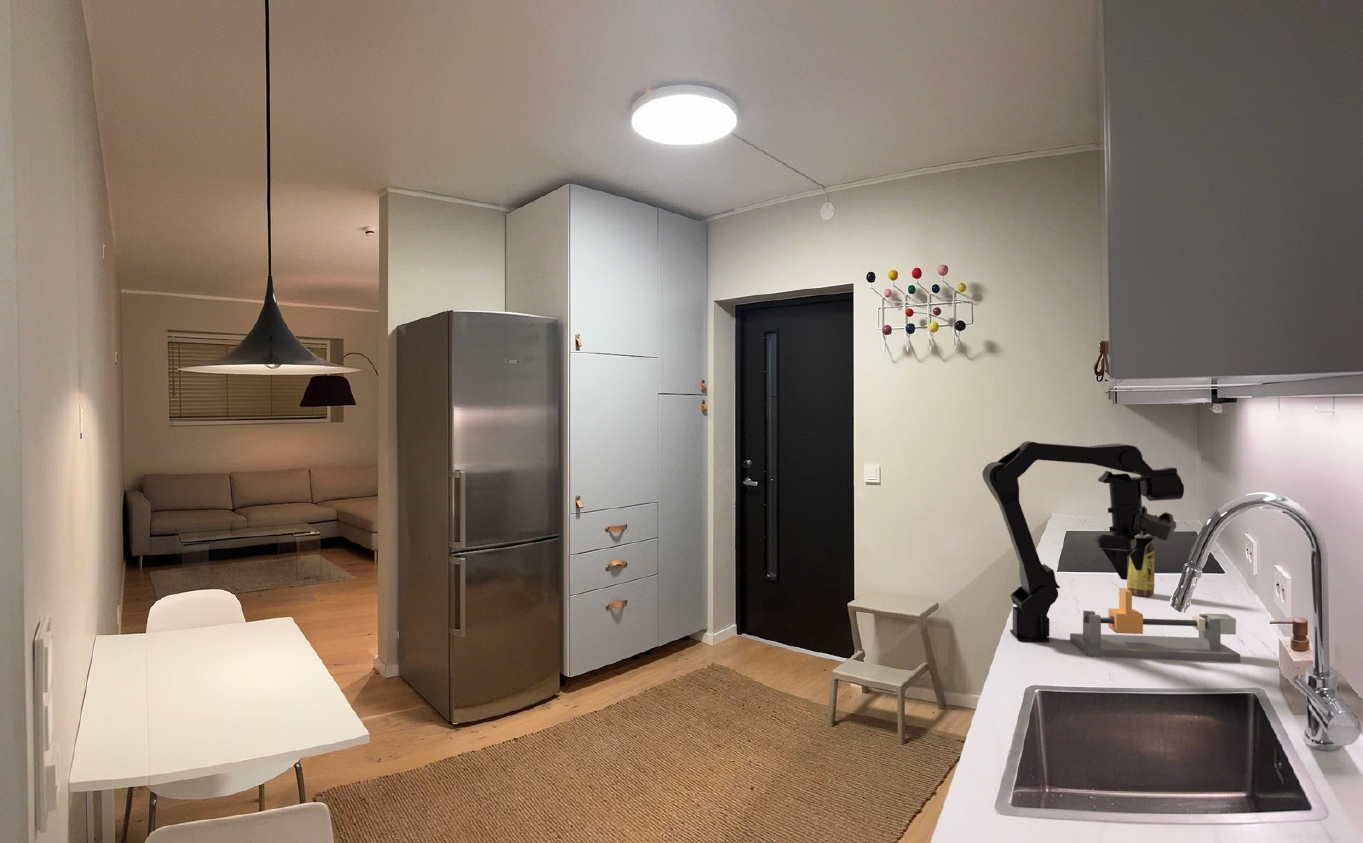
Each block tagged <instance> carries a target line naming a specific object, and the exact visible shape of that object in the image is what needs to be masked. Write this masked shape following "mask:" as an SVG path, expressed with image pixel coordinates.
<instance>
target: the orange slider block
mask: <svg viewBox="0 0 1363 843" xmlns="http://www.w3.org/2000/svg"><path fill="white" fill-rule="evenodd" d="M1118 594H1119V595H1118V598H1119V599H1118V608H1108V610H1107V611H1108V612H1107V614H1108V616H1107V618H1114V624H1108V623H1107V624H1108V629H1110V630H1112V632H1114V633H1115V634H1124V635H1143V634H1144V625H1143V619H1144V615H1143V613H1141V612H1139V611H1138V610H1136V609H1133V595H1132V592H1131V591H1129V590H1128V589H1127V587H1126V588H1125V587H1118Z"/></svg>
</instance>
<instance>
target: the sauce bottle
mask: <svg viewBox="0 0 1363 843" xmlns="http://www.w3.org/2000/svg"><path fill="white" fill-rule="evenodd" d="M1152 543H1153V542H1151V543H1150V544H1148V546H1147V550H1146V554H1145V558H1144V563H1143V567H1142V570H1136V569H1135V567H1134V565H1133V562H1132V560H1131V558H1129V569H1128V578H1127V579H1126V589H1128V590H1129V591H1131V592H1132V596H1138V597H1151V596H1152V597H1153V595H1154V594H1155V593H1154V592H1155V591H1154V590H1155V566H1156V565H1155V557H1156V556H1155V549H1154V548H1155V547H1154V546H1153V544H1152Z"/></svg>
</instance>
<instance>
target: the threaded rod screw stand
mask: <svg viewBox="0 0 1363 843" xmlns="http://www.w3.org/2000/svg"><path fill="white" fill-rule="evenodd" d="M1082 612H1083V614H1082V615H1083V616H1082V633H1073V632H1071V633H1069V634H1070V635H1069V640H1070V642H1071V643H1073V644H1074V645H1075V646H1076V647H1078V649H1079V650H1081V652H1082V653H1084V654H1085V655H1086V656H1087V657H1096V656H1104V657H1103V658H1123V659H1124V658H1125V659H1126V658H1127V659H1154V660H1155V659H1156V660H1157V659H1158V660H1177V661H1179V660H1180V661H1181V660H1182V661H1201V662H1202V661H1206V662H1207V661H1208V662H1229V663H1230V662H1231V663H1232V662H1233V663H1235V662H1236V663H1241V654H1240V653H1239V652H1237V651H1236V650H1234V649H1232V648H1230V647H1228V646H1226V645H1225V644H1223V643H1221V642H1222V641H1221V635H1233V636H1235V635H1236V634H1237V630H1236V629H1237V618H1235V617H1233V616H1231V615H1229V614H1228V613H1227V614H1226V613H1199V614H1198V615H1192V619H1171V618H1170V619H1167V618H1164V619H1163V618H1143V626H1145V625H1146V626H1148V625H1149V626H1173V627H1174V626H1176V627H1177V626H1179V627H1181V626H1182V627H1192V628H1193V629H1195V630H1197V631H1198V637H1191V636H1165V635H1163V636H1160V635H1137V634H1105V633H1104V634H1102V624H1114V618H1108V617H1104V616H1103V617H1102V616H1101V615H1100V614H1096V612H1095V611H1094V610H1083V611H1082Z"/></svg>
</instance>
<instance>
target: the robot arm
mask: <svg viewBox="0 0 1363 843" xmlns="http://www.w3.org/2000/svg"><path fill="white" fill-rule="evenodd" d="M1036 461H1048V462H1050V461H1051V462H1060V463H1061V462H1062V463H1076V464H1086V465H1095V466H1100V467H1103V468H1106V469H1111V470H1115V471H1119V472H1120V471H1121V472H1123V473H1113V472H1111V471H1108V470H1105V471H1104V473H1103V474H1102V475H1101V476H1100V477H1099V478H1097V482H1099V483H1104V484H1109V495H1110V506H1109V507H1107V514H1111V526H1109V531H1107V532H1105V533H1102V534H1101V535H1099V537H1097V548H1100V550H1101V551H1102V552H1103V553H1104V554H1105V555H1106V557H1107V558H1108V560H1109V561H1110V563H1111V565H1112V566H1113V568H1114V569H1115V572H1116V573H1117V574H1118V576H1119V578H1120V580H1125V581H1127V578H1128V569H1129V558H1131V560H1132V562H1133V565H1134V567H1135V569H1136V570H1142V567H1143V563H1144V558H1145V554H1146V550H1147V546H1148V544H1150V543H1153V541H1155V540H1156V539H1158V540H1161V541H1168V540H1169V539H1171V538H1172V537H1173V535H1174V531H1175V530H1176V529H1177V522H1176V521H1175V519H1174V516H1173V514H1171V513H1169V512H1167V511H1166V512H1163V513H1162V514H1160V515H1157V514H1150V513H1148V507H1146V505H1143V504H1142V503H1143V502H1142V500H1143V499H1142V497H1144V498H1146V499H1147V500H1148V501H1149V502H1154V501H1155V502H1157V501H1172V500H1174V501H1175V500H1181V499H1182V498H1183V496H1184V493H1185V492H1184V491H1185V485H1184V484H1183V481H1182V479H1181V477H1180V475H1179V474H1178V469H1177V467H1163V468H1154V469H1152V467H1151V466H1150V465H1149V464H1148V463H1147V462H1146V461H1145V460H1144V459H1143V454H1142V452H1141V450H1140V449H1139V448H1138V447H1137V446H1134V445H1130V444H1123V443H1107V444H1097V445H1089V446H1085V445H1074V444H1072V445H1071V444H1069V445H1068V444H1059V443H1058V444H1057V443H1041V442H1036V441H1030V440H1029V441H1028V440H1026V441H1023V442H1022V443H1021V444H1020V445H1019V446H1018V447H1017V448H1015V449H1014V450H1011V452H1009V453H1007V454H1006V455H1004V456H1002V457H1001V458H1000V459H999V460H997V461H992V462H989V463H988V464H986V465H985V467H984V469H983V470H982V479H983V481H984V483H985V485H986V487H987V488H988V490H989V492H990V493H991V495H992V496H993V497H994V498H993V499H995V501H996V502H997V504H998V505H999V508H1000V511H1001V515H1002V516H1003V521H1004V523H1005V526H1006V529H1007V532H1008V534H1009V538H1010V539H1011V540H1010V541H1011V544H1012V545H1013V548H1014V552H1015V554H1016V557H1017V560H1018V562H1019V563H1018V564H1019V579H1020V580H1019V581H1020V585H1019V587H1018V588H1016V589H1015V590H1014V591H1013V592H1012V593H1011V594H1010V598H1011V601H1012V603H1013V605H1015V606H1012V629H1010V630H1009V631H1010V634H1012V636H1013V637H1014V638H1015V639H1016V640H1017V641H1018V642H1041V643H1042V642H1043V643H1046V642H1047V643H1049V642H1050V641H1051V640H1050V638H1049V637H1050V618H1049V617H1048V613H1049V610H1050V608H1051V606H1052V605H1053V604H1055V602H1056V601H1057V599H1058V598H1059V592H1058V589H1061V587H1060V585H1059V584H1058V583H1057V581H1056V580H1057V579H1056V574H1055V571H1054V569H1052V568H1051V567H1050V566H1048V565H1046V564H1045V563H1044V564H1042V561H1041V560H1040V557H1039V553H1038V551H1037V549H1036V546H1035V543H1034V540H1033V537H1032V535H1031V531H1030V528H1029V526H1028V523H1027V520H1026V517H1025V514H1024V511H1023V509H1022V505H1021V502H1020V484H1019V479H1018V478H1020V477H1021V476H1022V475H1023V474H1025V473H1026V471H1028V469H1029V468H1030V467H1032V465H1033V464H1034V463H1035V462H1036ZM1125 472H1126V473H1125ZM1128 473H1130V474H1134V475H1137V476H1134V477H1131V475H1130V474H1128ZM1138 475H1139V476H1138ZM1150 535H1151V536H1150Z"/></svg>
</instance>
